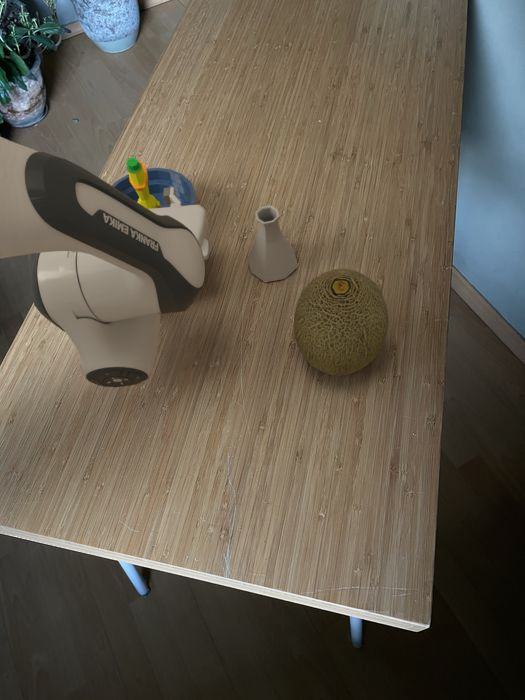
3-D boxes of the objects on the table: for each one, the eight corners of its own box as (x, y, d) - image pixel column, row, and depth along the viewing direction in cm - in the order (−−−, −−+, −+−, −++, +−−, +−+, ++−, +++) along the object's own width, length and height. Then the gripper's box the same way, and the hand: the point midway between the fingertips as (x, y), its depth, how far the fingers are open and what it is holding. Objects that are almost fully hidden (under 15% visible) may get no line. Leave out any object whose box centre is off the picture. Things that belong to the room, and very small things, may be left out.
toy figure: (140, 205, 93) (118, 143, 83) (163, 200, 93) (143, 138, 83) (143, 236, 89) (120, 176, 79) (166, 232, 89) (146, 171, 79)
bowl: (105, 261, 89) (95, 241, 85) (114, 193, 96) (106, 172, 92) (199, 253, 88) (193, 233, 84) (201, 185, 95) (196, 163, 91)
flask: (239, 256, 87) (230, 207, 78) (283, 236, 88) (278, 186, 79) (262, 290, 83) (255, 243, 75) (306, 269, 84) (305, 220, 76)
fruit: (299, 315, 80) (295, 242, 68) (383, 319, 79) (395, 245, 66) (292, 390, 75) (286, 325, 62) (382, 395, 73) (395, 330, 60)
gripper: (205, 248, 72) (206, 169, 79) (42, 262, 73) (58, 183, 81) (213, 280, 78) (214, 203, 85) (61, 292, 79) (74, 215, 86)
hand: (137, 193), depth 83 cm, fingers open, 8 cm apart
